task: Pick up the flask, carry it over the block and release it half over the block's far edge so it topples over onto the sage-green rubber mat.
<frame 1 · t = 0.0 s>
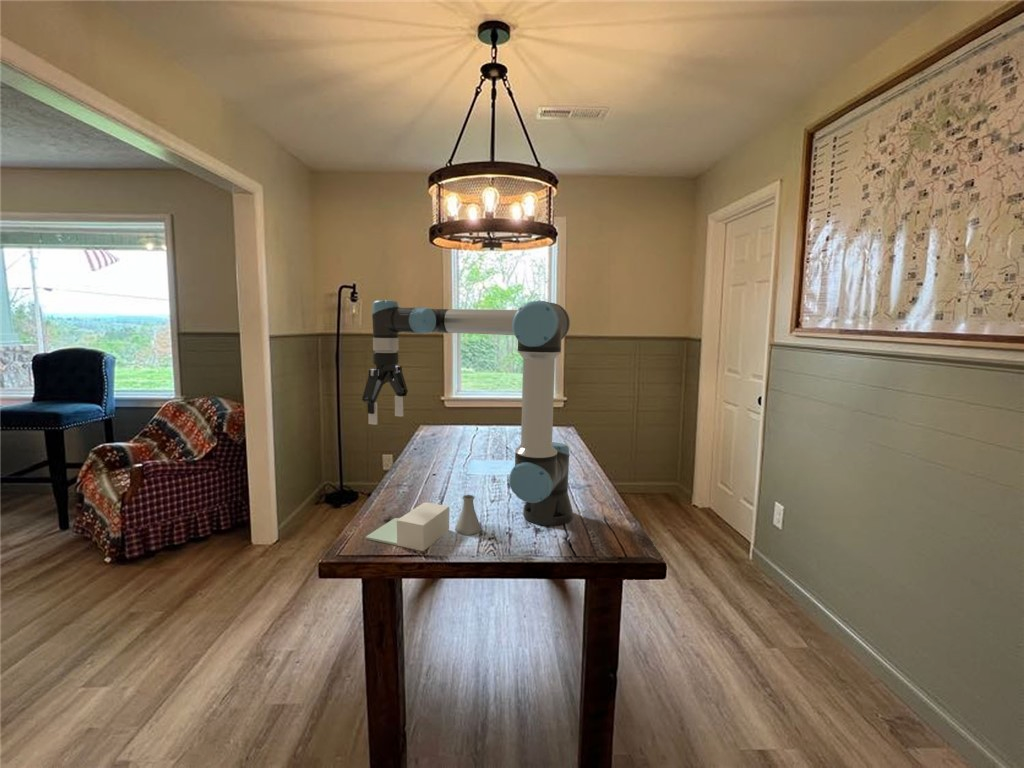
hand: (386, 420, 150), 28 cm above the table, fingers open, 13 cm apart
block: (424, 537, 132), on the table
flask: (468, 531, 138), on the table
mat: (396, 531, 136), on the table
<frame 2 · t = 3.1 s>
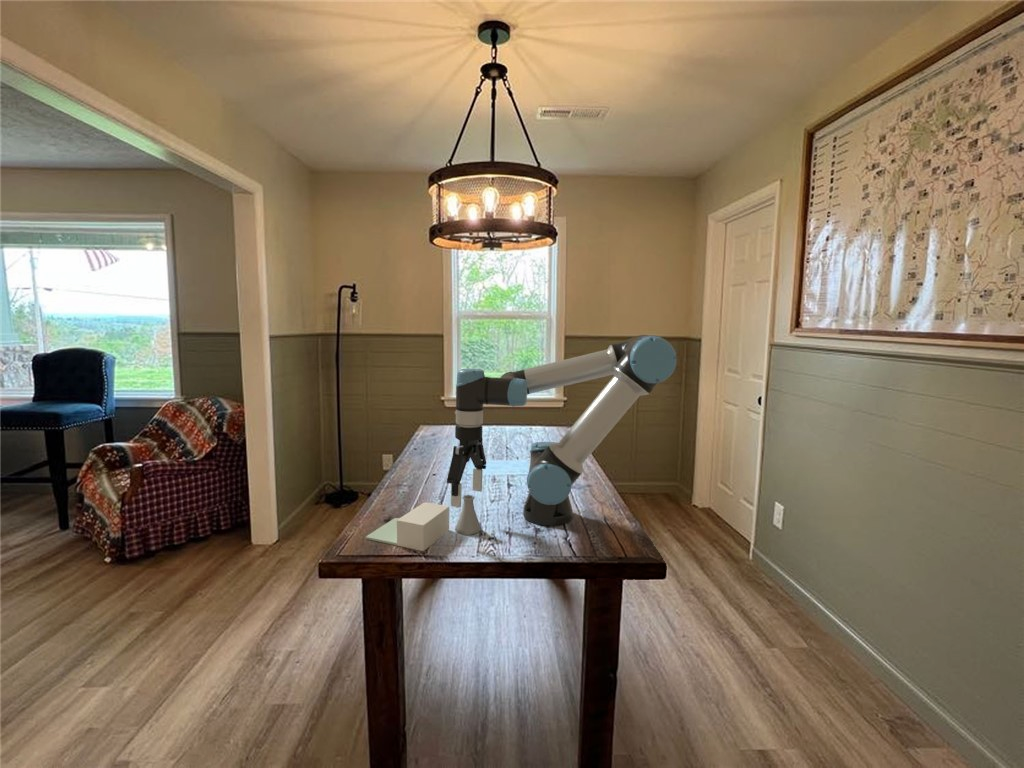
hand: (467, 498, 136), 9 cm above the table, fingers open, 13 cm apart
nothing on the table moved.
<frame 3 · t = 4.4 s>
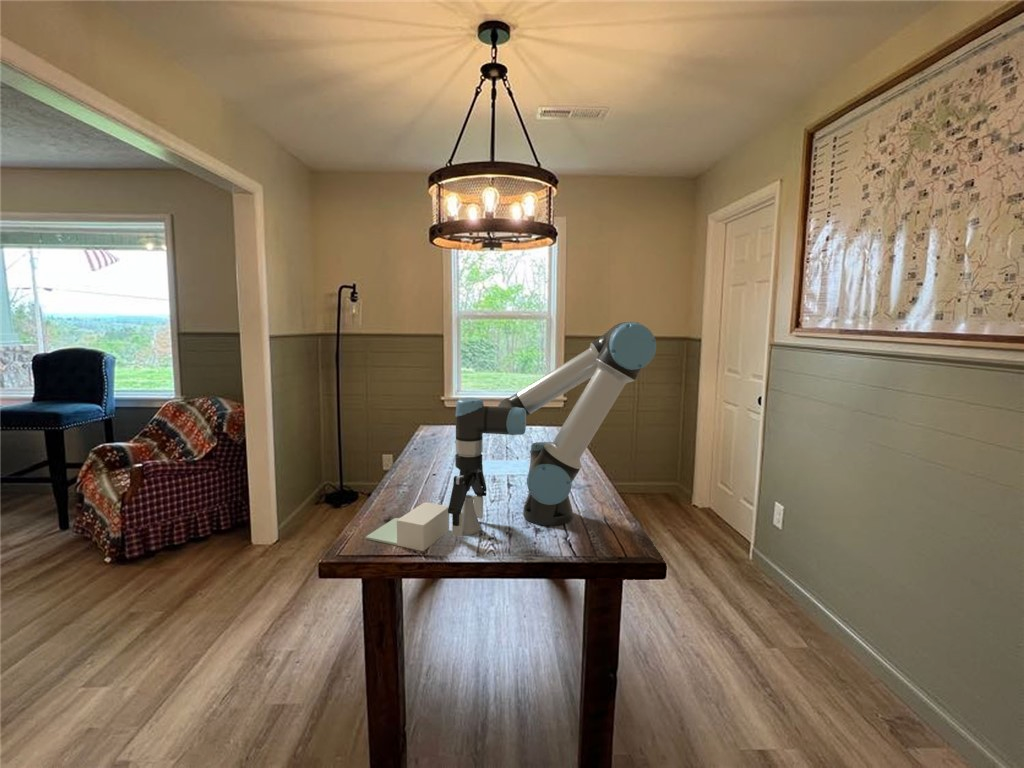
hand: (468, 526, 137), 1 cm above the table, fingers open, 13 cm apart
nothing on the table moved.
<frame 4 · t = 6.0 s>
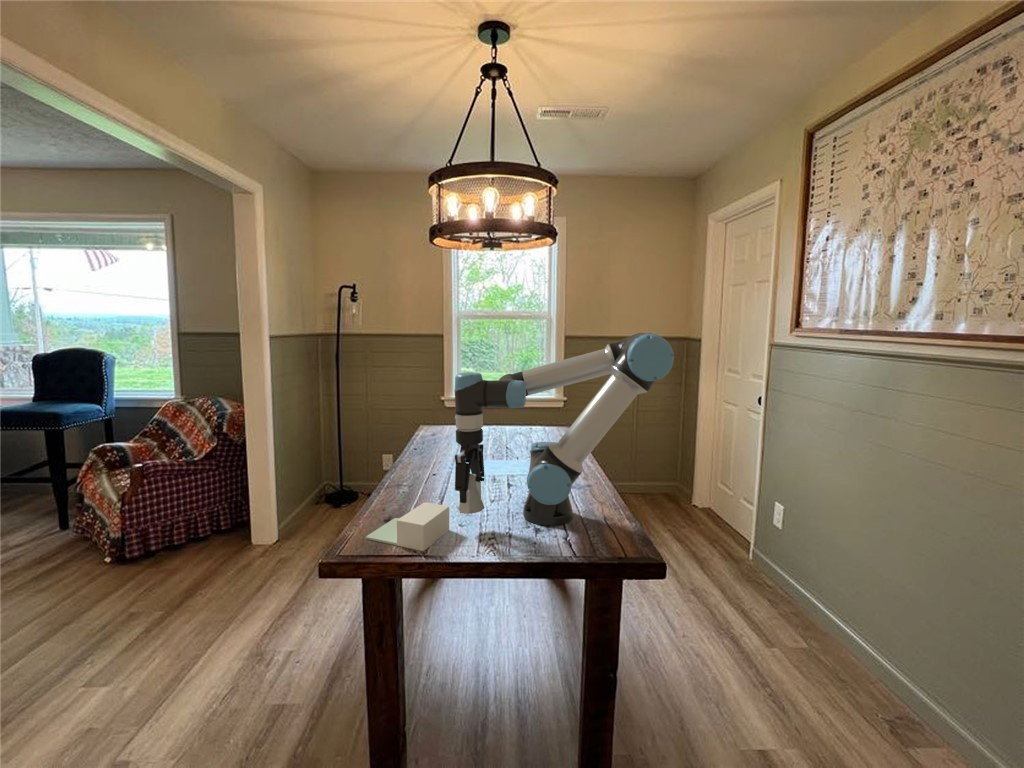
hand: (470, 507, 137), 7 cm above the table, fingers closed on flask, 7 cm apart
flask: (471, 510, 137), point 6 cm above the table, touching gripper
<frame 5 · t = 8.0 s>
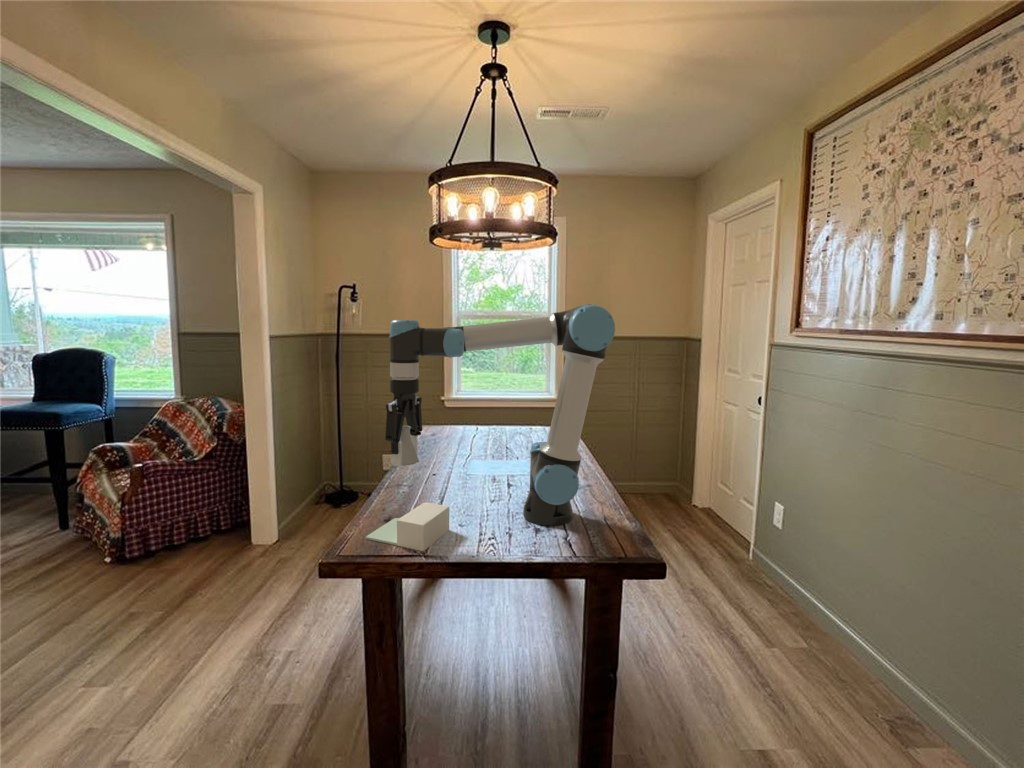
hand: (404, 461, 132), 21 cm above the table, fingers closed on flask, 7 cm apart
flask: (405, 463, 132), point 20 cm above the table, touching gripper
when the fingers open (9 cm above the table, at t = 10.0 s): flask drops 4 cm, resting on mat.
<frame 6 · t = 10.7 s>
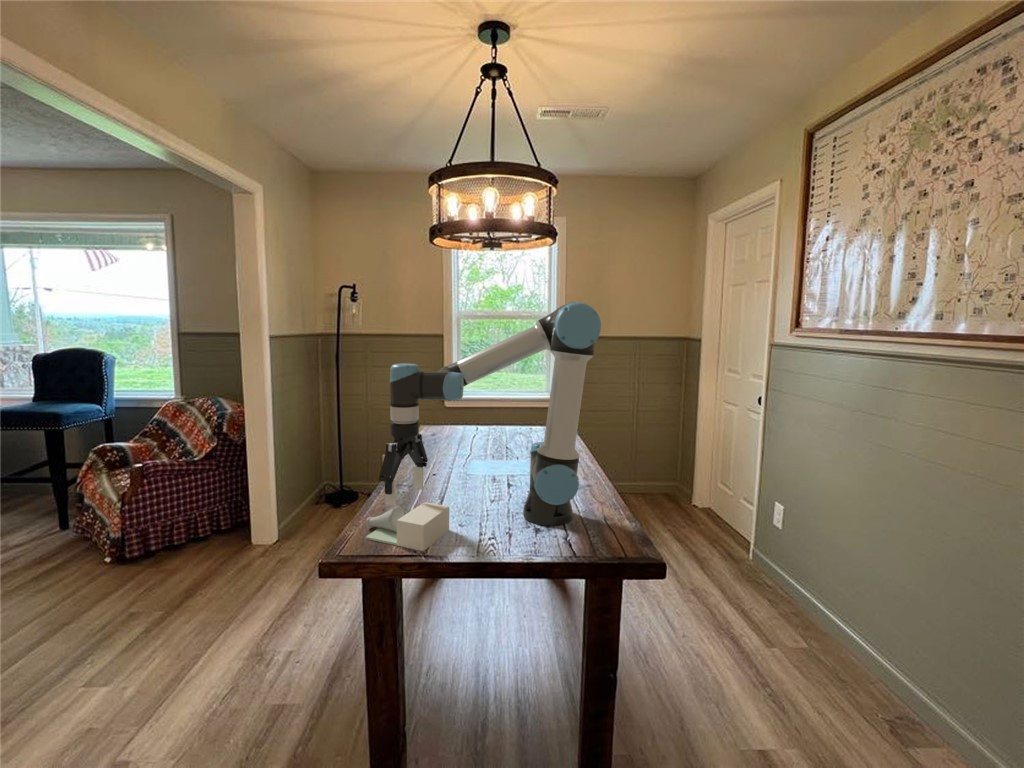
hand: (405, 496, 133), 11 cm above the table, fingers open, 13 cm apart
flask: (399, 518, 134), point 4 cm above the table, touching mat
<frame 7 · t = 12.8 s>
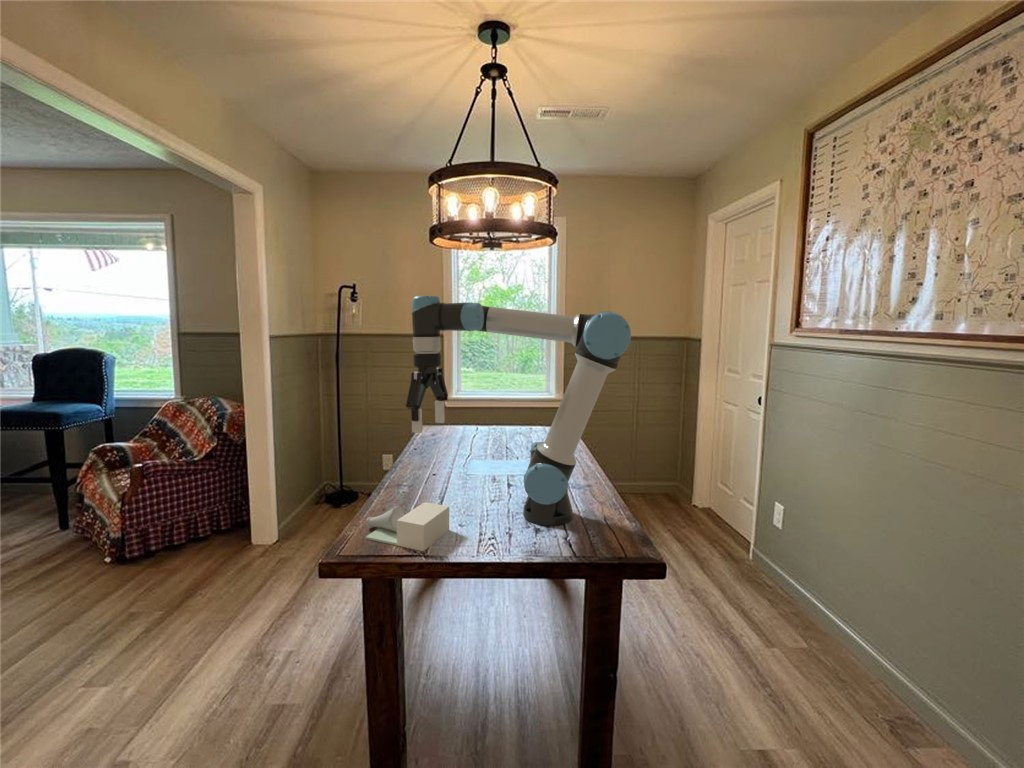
hand: (429, 427, 137), 29 cm above the table, fingers open, 13 cm apart
nothing on the table moved.
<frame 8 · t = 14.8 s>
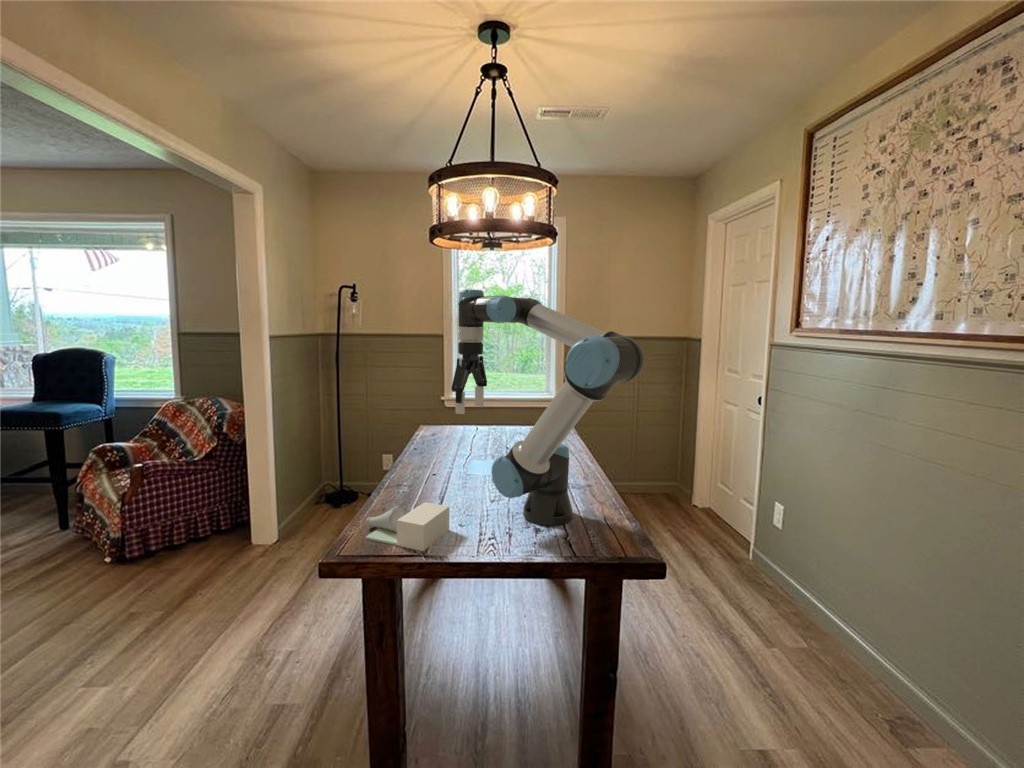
hand: (470, 410, 150), 32 cm above the table, fingers open, 13 cm apart
nothing on the table moved.
at the end: flask tilted 105°; flask inside the target area (2.9 cm from its centre), point 4.1 cm above the table; the gripper is holding nothing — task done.
